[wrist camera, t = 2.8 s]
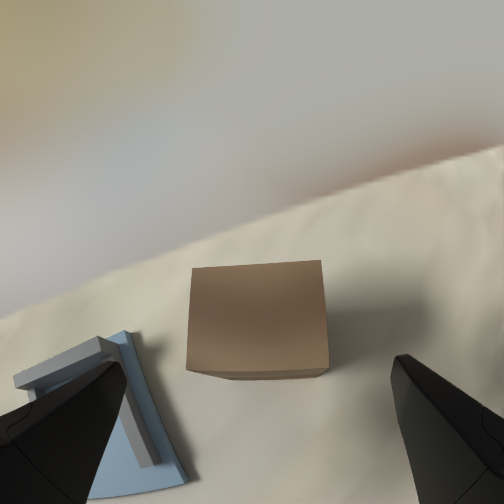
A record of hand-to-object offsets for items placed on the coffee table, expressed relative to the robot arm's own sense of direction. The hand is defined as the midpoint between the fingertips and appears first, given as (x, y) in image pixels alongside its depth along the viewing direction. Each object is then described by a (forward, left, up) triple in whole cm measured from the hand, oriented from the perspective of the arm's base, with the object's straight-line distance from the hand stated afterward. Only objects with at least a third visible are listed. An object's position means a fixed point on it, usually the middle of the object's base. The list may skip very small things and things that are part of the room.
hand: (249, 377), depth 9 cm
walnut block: (+2, -1, -9) cm, 9 cm away
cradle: (+4, +13, -9) cm, 16 cm away
